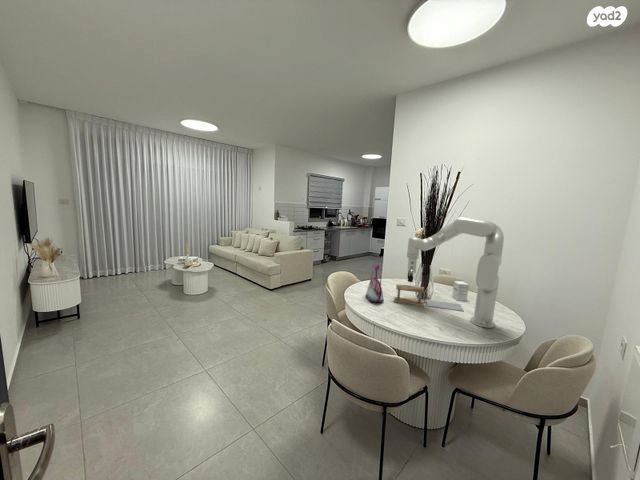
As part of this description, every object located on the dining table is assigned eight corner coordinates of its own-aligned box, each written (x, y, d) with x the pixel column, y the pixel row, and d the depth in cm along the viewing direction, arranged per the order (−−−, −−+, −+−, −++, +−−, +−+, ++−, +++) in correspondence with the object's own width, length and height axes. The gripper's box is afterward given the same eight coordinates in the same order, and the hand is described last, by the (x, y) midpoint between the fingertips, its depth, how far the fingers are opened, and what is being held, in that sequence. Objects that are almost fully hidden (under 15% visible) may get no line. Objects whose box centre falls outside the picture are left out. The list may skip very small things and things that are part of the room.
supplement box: (451, 297, 200) (453, 280, 198) (461, 297, 200) (463, 281, 198) (456, 300, 193) (458, 283, 191) (467, 301, 193) (469, 284, 191)
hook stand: (423, 306, 178) (425, 292, 177) (394, 302, 184) (395, 288, 182) (422, 301, 188) (424, 287, 186) (394, 297, 193) (395, 284, 192)
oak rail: (423, 293, 180) (424, 288, 180) (396, 289, 186) (396, 285, 185) (423, 291, 183) (423, 287, 183) (396, 288, 188) (396, 284, 188)
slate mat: (463, 311, 173) (463, 310, 173) (427, 306, 179) (427, 305, 179) (459, 305, 185) (460, 304, 185) (425, 300, 191) (426, 299, 191)
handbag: (363, 294, 198) (365, 261, 195) (376, 294, 200) (378, 261, 196) (372, 305, 177) (375, 268, 174) (386, 305, 179) (389, 268, 175)
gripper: (419, 258, 172) (416, 284, 174) (417, 253, 188) (415, 277, 191) (407, 257, 174) (404, 282, 177) (406, 252, 190) (404, 275, 193)
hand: (409, 279), depth 184 cm, fingers open, 9 cm apart
